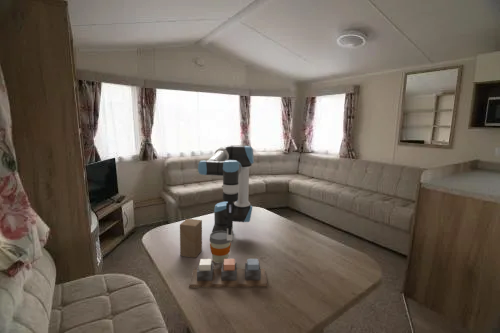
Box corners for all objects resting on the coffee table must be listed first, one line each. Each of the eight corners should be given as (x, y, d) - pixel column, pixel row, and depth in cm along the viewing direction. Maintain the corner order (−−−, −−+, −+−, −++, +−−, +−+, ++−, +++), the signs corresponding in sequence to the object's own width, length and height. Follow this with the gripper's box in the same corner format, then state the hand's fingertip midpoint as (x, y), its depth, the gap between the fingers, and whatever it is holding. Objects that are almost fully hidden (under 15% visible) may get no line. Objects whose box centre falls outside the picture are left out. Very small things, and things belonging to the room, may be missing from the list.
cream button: (199, 274, 124) (199, 264, 124) (200, 267, 130) (200, 258, 129) (210, 274, 125) (210, 264, 124) (211, 267, 130) (211, 258, 129)
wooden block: (195, 258, 147) (195, 226, 144) (180, 256, 149) (179, 224, 146) (202, 250, 157) (202, 219, 154) (187, 248, 159) (187, 218, 156)
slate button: (247, 273, 126) (247, 264, 125) (246, 267, 131) (247, 258, 131) (258, 273, 126) (258, 264, 125) (257, 267, 132) (257, 258, 131)
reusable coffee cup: (205, 261, 144) (205, 237, 141) (215, 251, 155) (215, 229, 153) (225, 266, 140) (225, 241, 137) (234, 256, 151) (234, 232, 149)
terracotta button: (223, 274, 125) (223, 264, 124) (223, 267, 131) (224, 258, 130) (234, 273, 125) (234, 264, 125) (234, 267, 131) (234, 258, 130)
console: (189, 287, 121) (189, 275, 120) (193, 271, 134) (193, 260, 133) (267, 286, 124) (267, 274, 123) (264, 271, 136) (264, 260, 135)
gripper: (223, 187, 130) (223, 229, 134) (221, 197, 112) (221, 246, 115) (238, 187, 131) (237, 229, 135) (238, 198, 112) (237, 246, 116)
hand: (229, 236), depth 125 cm, fingers open, 6 cm apart
